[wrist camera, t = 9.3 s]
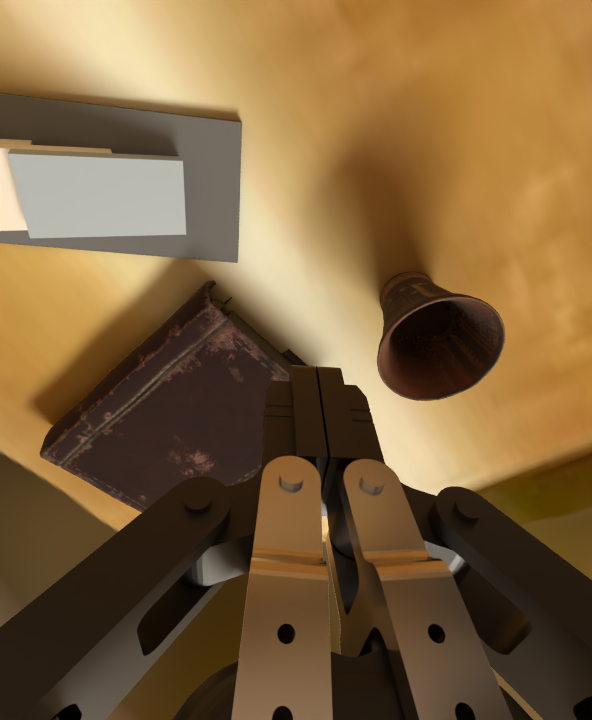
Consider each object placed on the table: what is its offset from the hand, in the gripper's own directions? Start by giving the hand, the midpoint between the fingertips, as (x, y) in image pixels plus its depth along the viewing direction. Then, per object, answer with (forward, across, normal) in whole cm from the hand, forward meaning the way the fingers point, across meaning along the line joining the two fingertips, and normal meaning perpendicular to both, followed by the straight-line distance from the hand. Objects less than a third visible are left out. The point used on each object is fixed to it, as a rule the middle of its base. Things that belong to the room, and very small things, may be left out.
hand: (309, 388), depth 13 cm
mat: (+23, +16, 0) cm, 28 cm away
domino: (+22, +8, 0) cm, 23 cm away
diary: (+24, +8, +22) cm, 33 cm away
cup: (+23, -11, +7) cm, 27 cm away
